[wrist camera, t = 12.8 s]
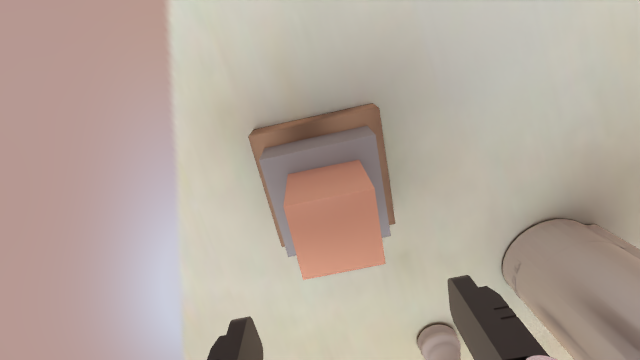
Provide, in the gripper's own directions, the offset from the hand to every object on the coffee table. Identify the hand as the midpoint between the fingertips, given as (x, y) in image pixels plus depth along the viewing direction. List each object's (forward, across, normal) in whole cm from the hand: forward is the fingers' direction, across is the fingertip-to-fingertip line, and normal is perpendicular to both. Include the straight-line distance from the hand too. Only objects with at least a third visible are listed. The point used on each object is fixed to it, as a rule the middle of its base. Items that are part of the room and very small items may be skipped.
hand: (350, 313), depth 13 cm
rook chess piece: (+16, -8, +22) cm, 28 cm away
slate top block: (+14, 0, 0) cm, 14 cm away
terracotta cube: (+11, 0, 0) cm, 11 cm away
